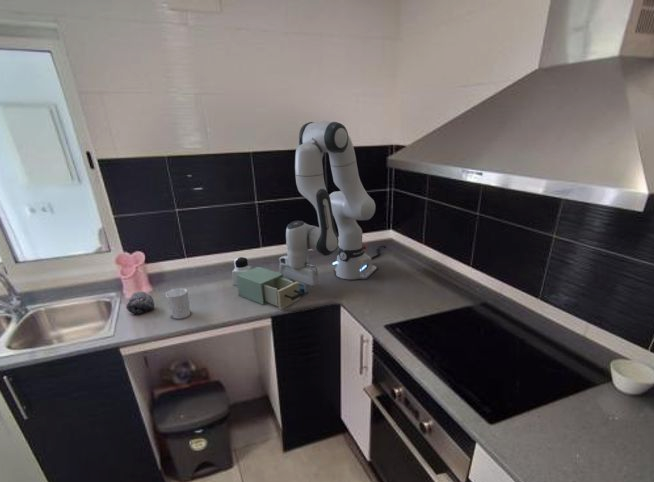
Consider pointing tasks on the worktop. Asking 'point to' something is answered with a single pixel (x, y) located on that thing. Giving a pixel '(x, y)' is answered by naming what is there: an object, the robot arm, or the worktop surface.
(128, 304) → the pumice stone
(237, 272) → the astronaut figurine
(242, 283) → the drawer cabinet
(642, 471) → the worktop surface
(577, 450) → the worktop surface
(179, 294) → the white cup
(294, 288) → the drawer with handle
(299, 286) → the blue cube
